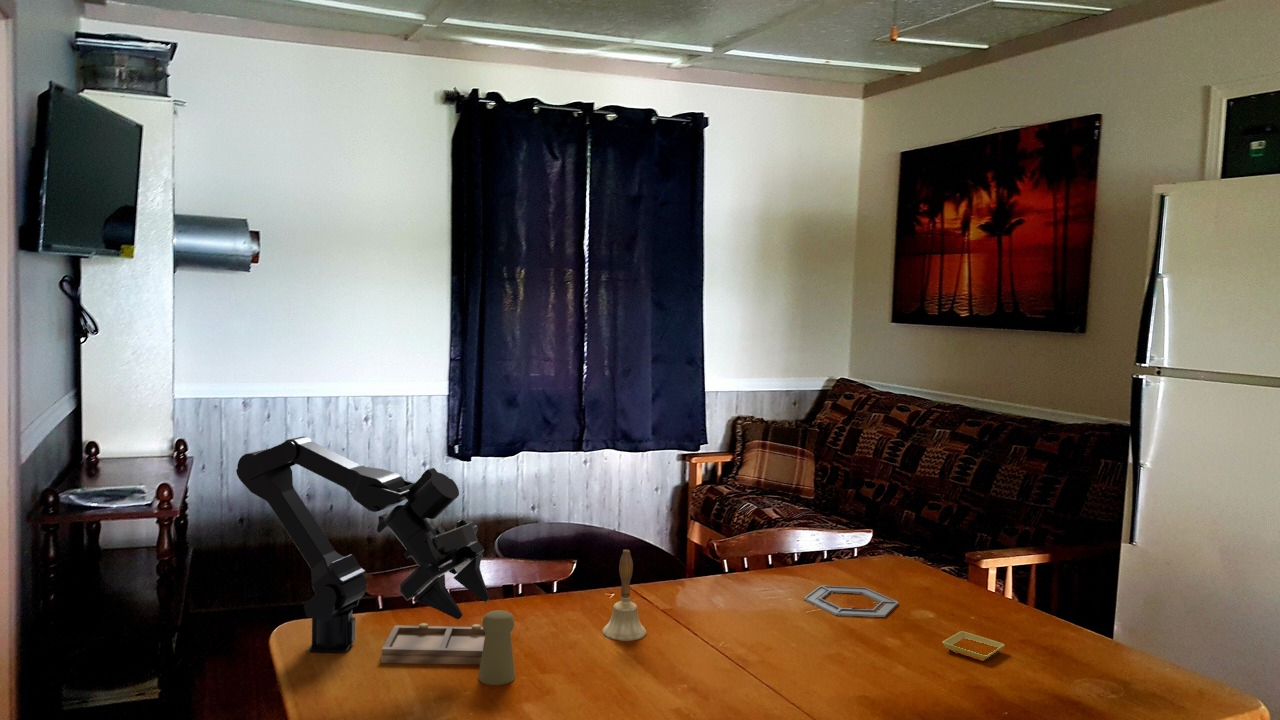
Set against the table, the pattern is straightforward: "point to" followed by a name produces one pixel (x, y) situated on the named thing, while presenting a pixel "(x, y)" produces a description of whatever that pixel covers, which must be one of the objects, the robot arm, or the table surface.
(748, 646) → the table surface
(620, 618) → the hand bell
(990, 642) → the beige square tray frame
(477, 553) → the robot arm
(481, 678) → the olive pepper mill
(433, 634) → the divided tray
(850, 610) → the grey hexagonal frame
